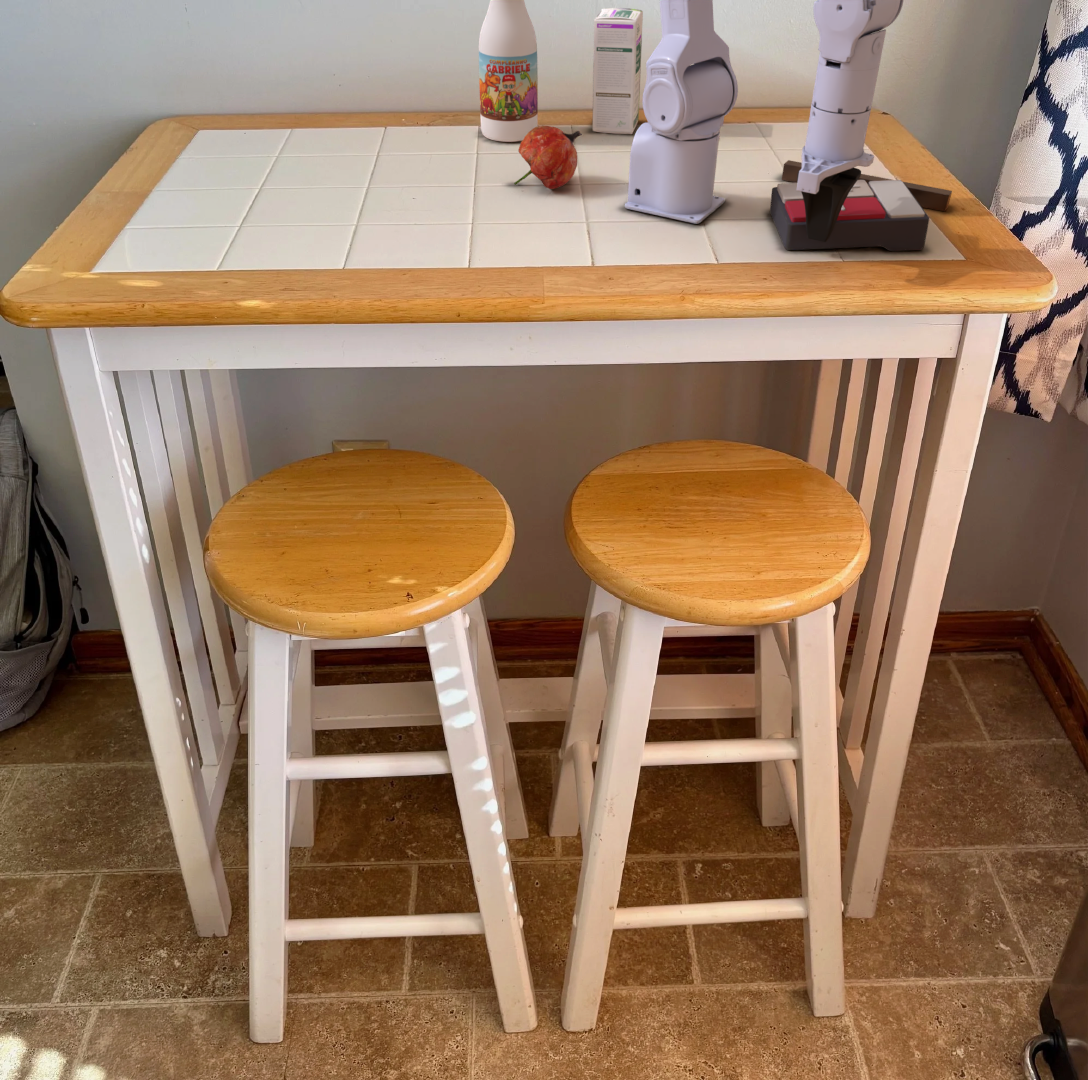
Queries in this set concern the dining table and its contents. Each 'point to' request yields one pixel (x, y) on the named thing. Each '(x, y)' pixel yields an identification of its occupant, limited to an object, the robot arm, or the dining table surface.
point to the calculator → (855, 218)
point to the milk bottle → (508, 72)
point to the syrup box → (617, 70)
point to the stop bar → (923, 194)
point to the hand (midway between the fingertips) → (817, 238)
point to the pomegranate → (550, 155)
